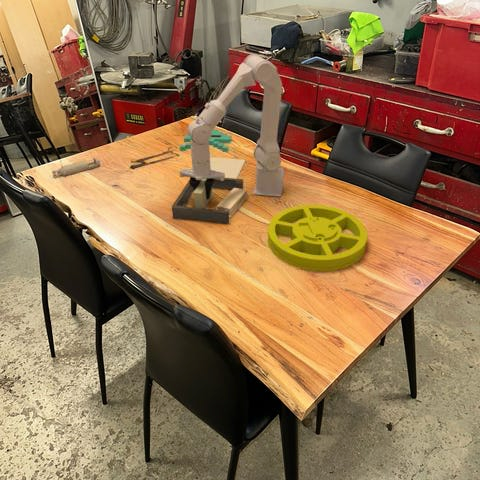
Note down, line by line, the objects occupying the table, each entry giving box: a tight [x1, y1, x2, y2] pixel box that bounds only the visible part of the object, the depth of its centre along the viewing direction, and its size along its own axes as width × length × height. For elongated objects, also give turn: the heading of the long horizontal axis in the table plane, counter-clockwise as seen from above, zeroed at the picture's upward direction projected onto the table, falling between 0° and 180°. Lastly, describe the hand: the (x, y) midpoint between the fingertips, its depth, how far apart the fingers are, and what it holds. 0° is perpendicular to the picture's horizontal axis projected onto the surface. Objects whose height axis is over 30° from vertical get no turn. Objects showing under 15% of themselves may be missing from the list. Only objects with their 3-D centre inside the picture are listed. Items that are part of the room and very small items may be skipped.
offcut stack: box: [216, 188, 249, 220], centre depth 142 cm, size 6×16×4 cm, turn 158°
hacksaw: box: [129, 146, 180, 170], centre depth 174 cm, size 24×10×2 cm, turn 125°
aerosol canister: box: [51, 157, 101, 178], centre depth 164 cm, size 18×5×7 cm, turn 126°
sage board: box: [193, 179, 214, 209], centre depth 142 cm, size 2×12×7 cm, turn 168°
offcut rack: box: [171, 178, 244, 225], centre depth 143 cm, size 18×22×4 cm
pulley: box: [267, 204, 368, 272], centre depth 124 cm, size 28×28×5 cm
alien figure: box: [179, 128, 233, 153], centre depth 186 cm, size 20×2×20 cm
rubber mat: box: [210, 156, 247, 179], centre depth 164 cm, size 16×20×1 cm
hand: (203, 197), depth 143 cm, fingers closed on sage board, 2 cm apart
